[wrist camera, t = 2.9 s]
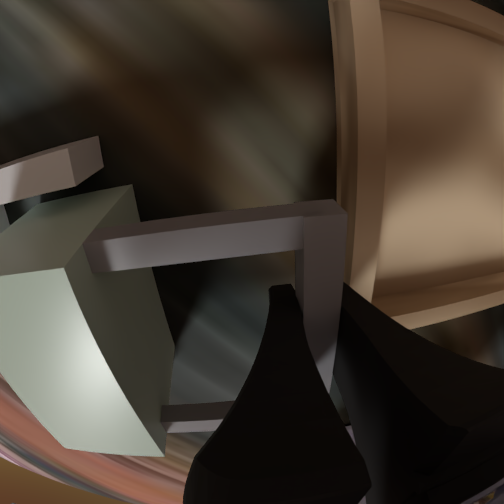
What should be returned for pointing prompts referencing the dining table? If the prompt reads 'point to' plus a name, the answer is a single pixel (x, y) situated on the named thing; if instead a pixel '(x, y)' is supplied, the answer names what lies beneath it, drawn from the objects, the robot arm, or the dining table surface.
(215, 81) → the dining table surface
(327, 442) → the robot arm
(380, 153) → the tray
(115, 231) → the tall sage green box
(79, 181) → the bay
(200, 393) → the dining table surface
